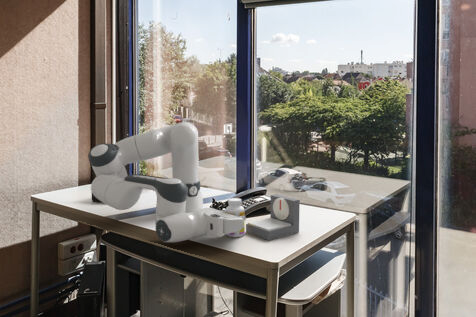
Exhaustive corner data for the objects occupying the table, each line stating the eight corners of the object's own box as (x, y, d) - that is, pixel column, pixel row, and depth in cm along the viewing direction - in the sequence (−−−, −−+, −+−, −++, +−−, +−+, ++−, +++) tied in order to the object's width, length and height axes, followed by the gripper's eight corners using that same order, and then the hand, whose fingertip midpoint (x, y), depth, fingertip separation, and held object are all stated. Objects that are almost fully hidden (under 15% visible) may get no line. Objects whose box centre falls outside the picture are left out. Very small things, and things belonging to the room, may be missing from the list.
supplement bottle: (242, 231, 145) (242, 197, 144) (246, 237, 139) (246, 201, 137) (224, 232, 144) (224, 197, 143) (226, 238, 138) (226, 202, 136)
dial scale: (245, 232, 145) (245, 199, 143) (276, 224, 154) (276, 194, 153) (268, 240, 135) (268, 206, 134) (299, 232, 145) (299, 199, 143)
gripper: (188, 224, 141) (219, 217, 150) (222, 238, 125) (255, 230, 134) (187, 206, 141) (219, 201, 149) (221, 219, 125) (255, 212, 133)
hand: (237, 215), depth 141 cm, fingers open, 7 cm apart
